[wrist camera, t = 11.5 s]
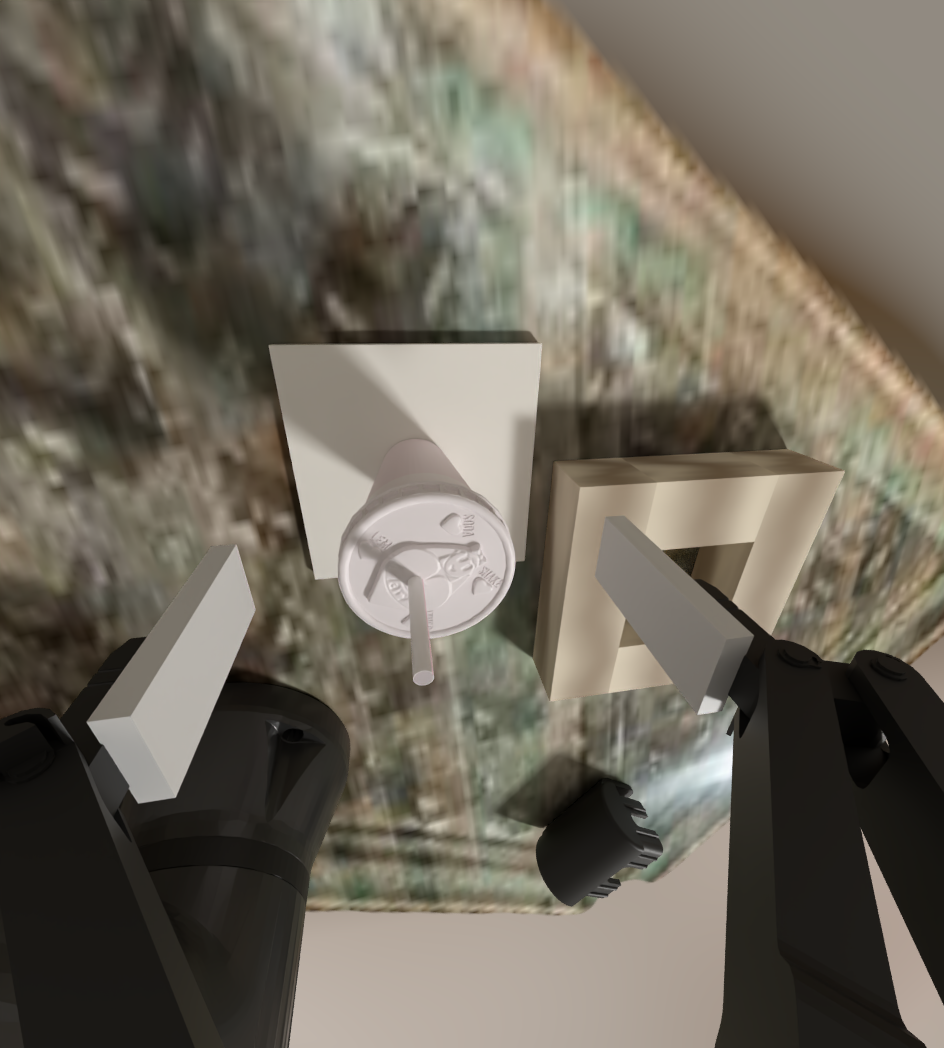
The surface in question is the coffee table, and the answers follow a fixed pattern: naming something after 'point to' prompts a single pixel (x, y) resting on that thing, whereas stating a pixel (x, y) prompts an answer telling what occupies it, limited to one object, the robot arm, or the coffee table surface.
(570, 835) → the end cap
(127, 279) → the coffee table surface
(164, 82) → the coffee table surface
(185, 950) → the robot arm
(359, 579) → the smoothie
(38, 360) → the coffee table surface
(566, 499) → the frame
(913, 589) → the coffee table surface
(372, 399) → the tile
